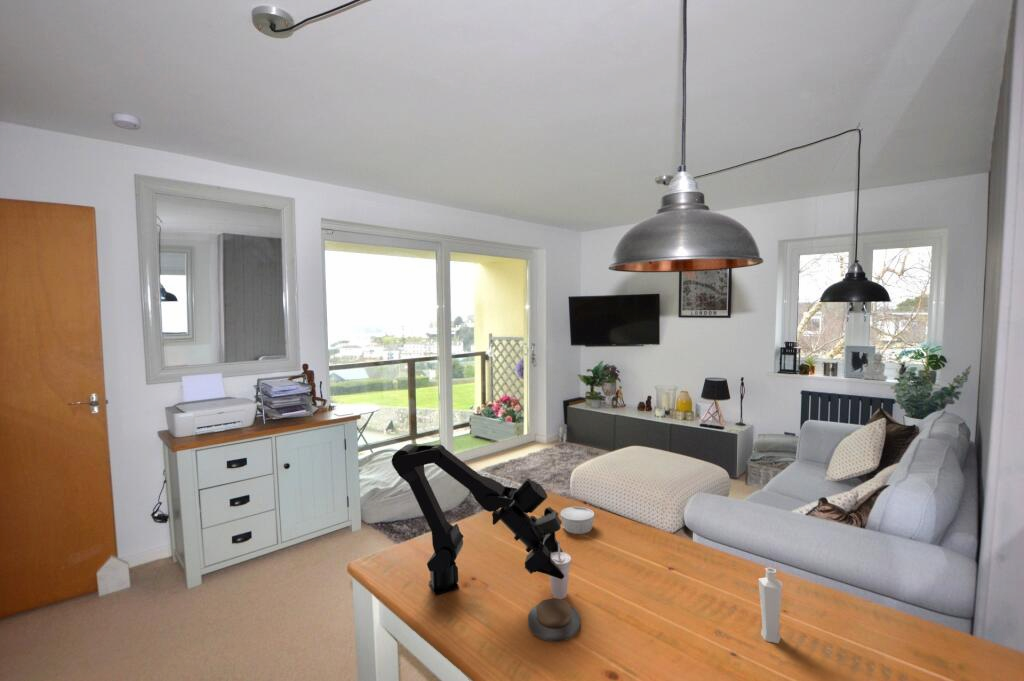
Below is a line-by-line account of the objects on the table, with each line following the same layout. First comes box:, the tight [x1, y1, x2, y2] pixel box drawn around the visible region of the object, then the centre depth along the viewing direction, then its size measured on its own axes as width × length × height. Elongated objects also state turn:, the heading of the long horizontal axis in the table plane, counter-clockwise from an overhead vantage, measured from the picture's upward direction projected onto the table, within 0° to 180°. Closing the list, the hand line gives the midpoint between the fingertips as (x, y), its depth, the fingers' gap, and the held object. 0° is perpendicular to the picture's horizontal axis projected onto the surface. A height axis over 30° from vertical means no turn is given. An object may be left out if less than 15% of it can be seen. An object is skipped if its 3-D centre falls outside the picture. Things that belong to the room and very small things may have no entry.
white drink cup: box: [548, 541, 572, 600], centre depth 119 cm, size 6×6×14 cm
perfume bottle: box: [758, 567, 783, 644], centre depth 101 cm, size 5×4×15 cm
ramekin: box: [560, 506, 595, 535], centre depth 156 cm, size 11×11×5 cm
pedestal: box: [527, 597, 581, 643], centre depth 108 cm, size 12×12×4 cm
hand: (564, 568), depth 119 cm, fingers open, 8 cm apart
